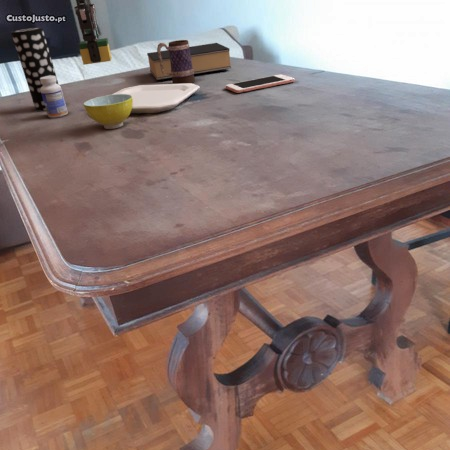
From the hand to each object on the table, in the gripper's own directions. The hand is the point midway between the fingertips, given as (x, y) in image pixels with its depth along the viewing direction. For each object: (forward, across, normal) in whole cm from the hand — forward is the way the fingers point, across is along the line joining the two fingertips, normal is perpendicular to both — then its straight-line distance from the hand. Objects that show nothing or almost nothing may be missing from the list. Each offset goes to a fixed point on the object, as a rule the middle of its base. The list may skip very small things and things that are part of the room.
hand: (97, 59), depth 105 cm
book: (+15, -57, +24) cm, 64 cm away
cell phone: (+15, -22, +41) cm, 49 cm away
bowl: (+15, -1, 0) cm, 15 cm away
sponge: (0, 0, 0) cm, 0 cm away
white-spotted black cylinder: (+15, -33, -20) cm, 41 cm away
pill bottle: (+15, -21, -16) cm, 30 cm away
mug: (+15, -40, +19) cm, 47 cm away
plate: (+15, -20, +9) cm, 27 cm away
